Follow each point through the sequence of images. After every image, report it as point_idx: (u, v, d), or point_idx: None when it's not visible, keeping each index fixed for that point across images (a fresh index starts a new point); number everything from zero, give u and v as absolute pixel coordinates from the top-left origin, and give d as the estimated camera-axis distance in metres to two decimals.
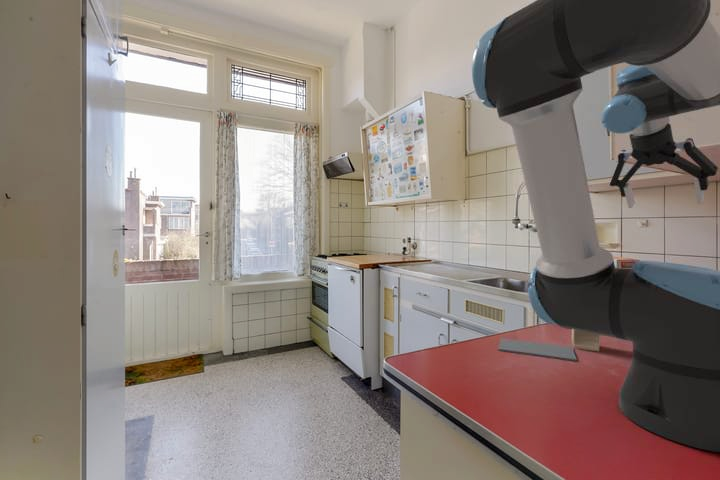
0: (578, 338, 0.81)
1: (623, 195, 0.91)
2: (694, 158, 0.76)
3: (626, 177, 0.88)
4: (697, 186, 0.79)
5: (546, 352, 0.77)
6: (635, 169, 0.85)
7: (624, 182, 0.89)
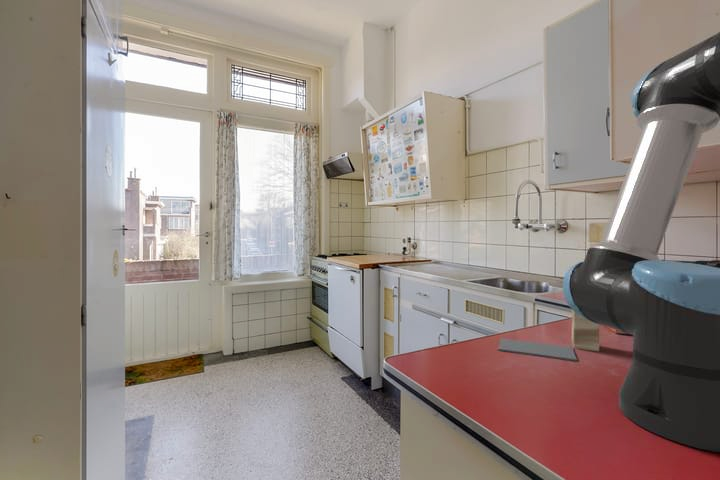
0: (578, 338, 0.81)
1: None
2: None
3: (677, 261, 0.79)
4: None
5: (546, 352, 0.77)
6: (693, 262, 0.76)
7: None
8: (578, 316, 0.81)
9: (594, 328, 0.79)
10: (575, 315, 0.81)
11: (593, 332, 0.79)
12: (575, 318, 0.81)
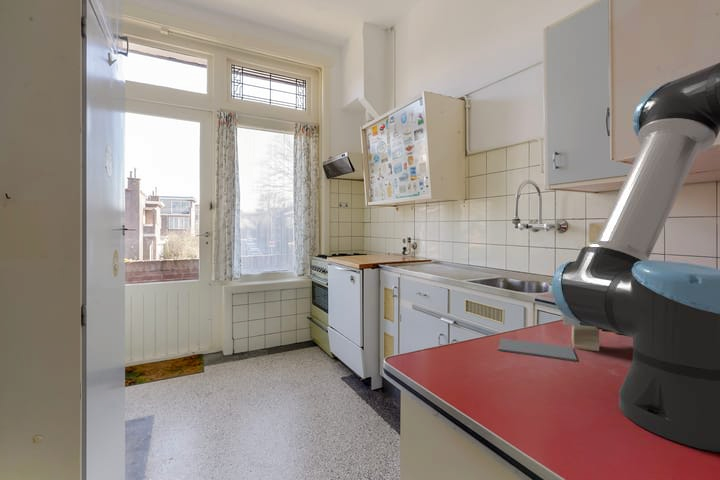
0: (578, 338, 0.81)
1: None
2: None
3: None
4: None
5: (546, 352, 0.77)
6: None
7: None
8: None
9: (594, 328, 0.79)
10: None
11: (593, 332, 0.79)
12: None
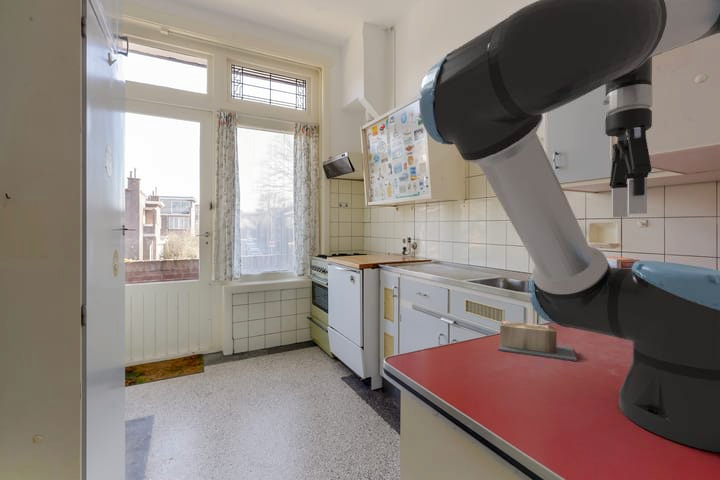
0: None
1: None
2: None
3: None
4: None
5: (546, 352, 0.77)
6: None
7: None
8: None
9: None
10: None
11: None
12: None
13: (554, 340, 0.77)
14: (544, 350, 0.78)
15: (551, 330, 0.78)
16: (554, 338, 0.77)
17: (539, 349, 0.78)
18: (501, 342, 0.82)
